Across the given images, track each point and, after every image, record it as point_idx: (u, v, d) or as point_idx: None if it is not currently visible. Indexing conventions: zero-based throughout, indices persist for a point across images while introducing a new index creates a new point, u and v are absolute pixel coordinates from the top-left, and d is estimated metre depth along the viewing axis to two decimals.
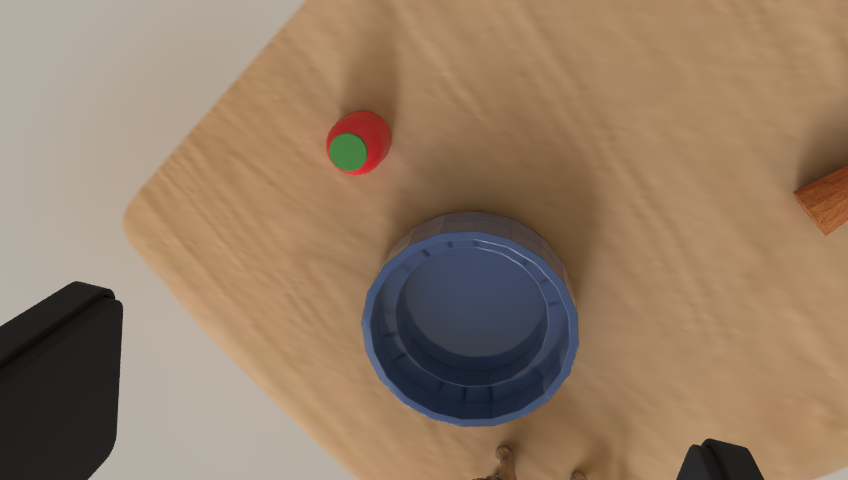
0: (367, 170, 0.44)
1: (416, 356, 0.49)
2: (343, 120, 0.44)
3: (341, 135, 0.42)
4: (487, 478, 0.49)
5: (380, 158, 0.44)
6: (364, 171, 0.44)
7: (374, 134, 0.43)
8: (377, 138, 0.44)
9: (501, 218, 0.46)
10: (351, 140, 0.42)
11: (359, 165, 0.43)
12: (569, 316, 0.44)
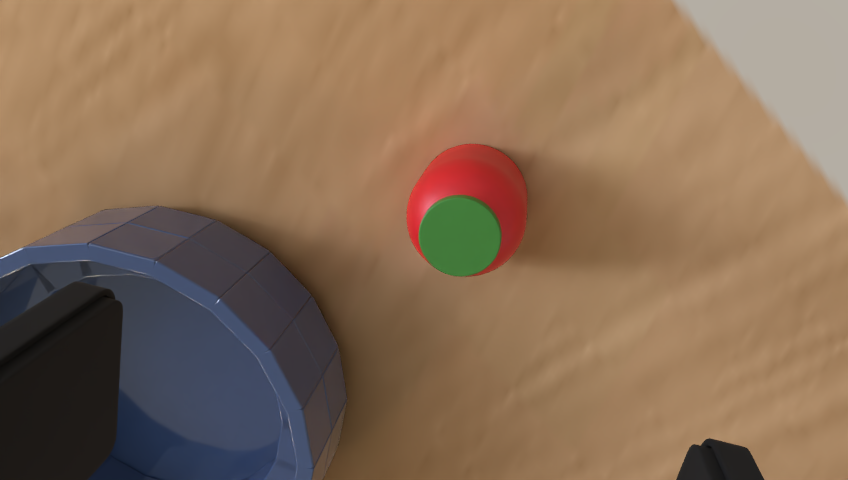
0: (418, 251, 0.21)
1: None
2: (521, 203, 0.21)
3: (496, 228, 0.19)
4: None
5: None
6: (415, 245, 0.21)
7: (491, 270, 0.21)
8: (483, 272, 0.22)
9: (337, 438, 0.27)
10: (485, 248, 0.20)
11: (432, 260, 0.20)
12: None
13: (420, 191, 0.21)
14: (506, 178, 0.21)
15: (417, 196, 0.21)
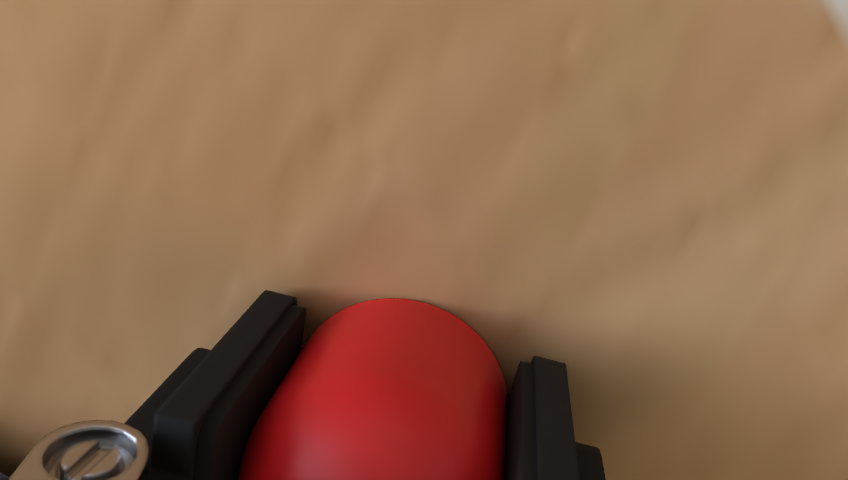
0: None
1: None
2: (489, 479, 0.09)
3: None
4: None
5: None
6: None
7: None
8: None
9: None
10: None
11: None
12: None
13: (256, 454, 0.09)
14: (455, 424, 0.09)
15: (249, 466, 0.09)
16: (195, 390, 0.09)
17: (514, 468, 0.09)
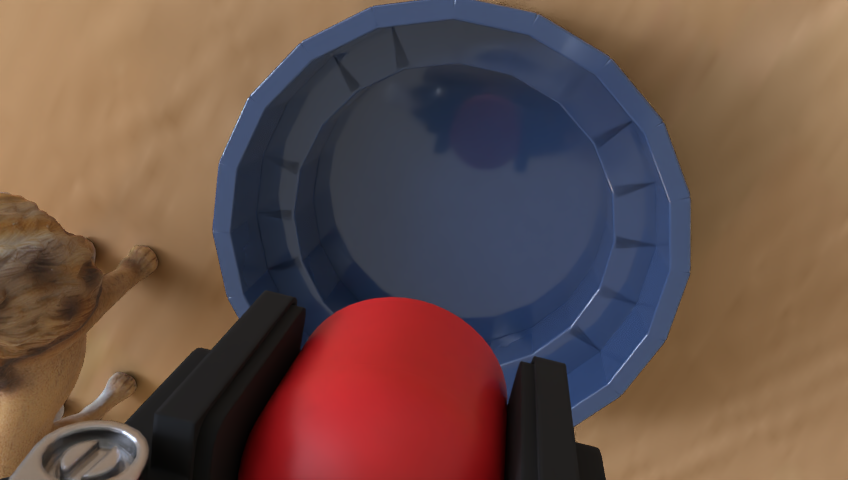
0: None
1: (345, 105, 0.22)
2: (490, 477, 0.09)
3: None
4: (96, 273, 0.23)
5: None
6: None
7: None
8: None
9: None
10: None
11: None
12: None
13: (256, 452, 0.09)
14: (455, 422, 0.09)
15: (249, 464, 0.09)
16: (195, 390, 0.09)
17: (514, 468, 0.09)
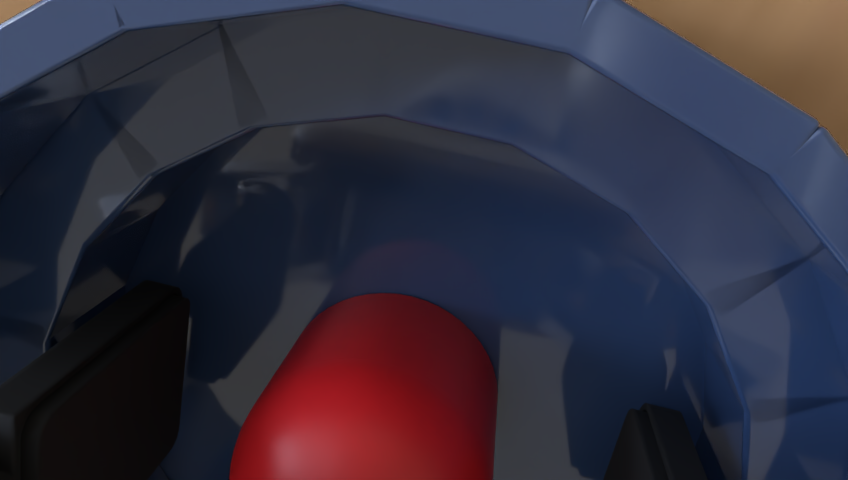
0: None
1: (142, 201, 0.10)
2: (478, 469, 0.09)
3: None
4: None
5: None
6: None
7: None
8: None
9: None
10: None
11: None
12: None
13: (248, 445, 0.09)
14: (444, 415, 0.09)
15: (241, 457, 0.09)
16: (27, 382, 0.08)
17: None
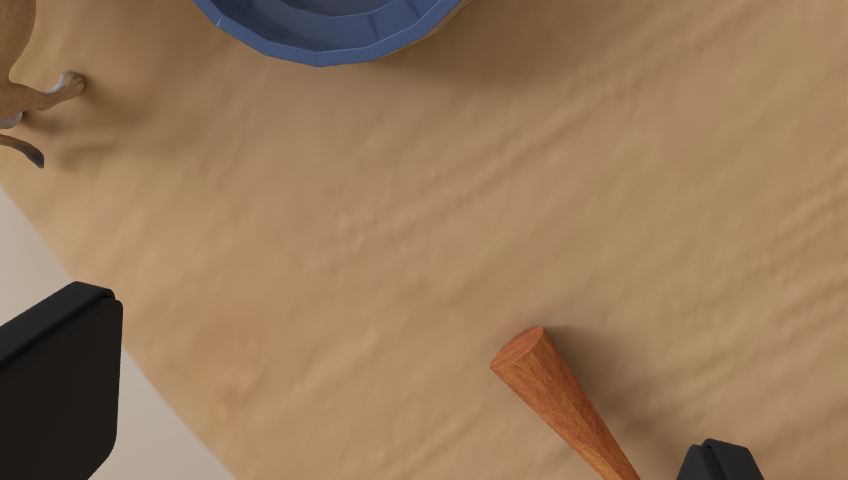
0: None
1: None
2: None
3: None
4: None
5: None
6: None
7: None
8: None
9: None
10: None
11: None
12: (367, 48, 0.27)
13: None
14: None
15: None
16: None
17: None
